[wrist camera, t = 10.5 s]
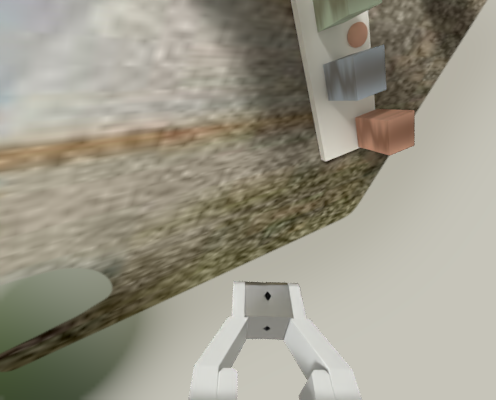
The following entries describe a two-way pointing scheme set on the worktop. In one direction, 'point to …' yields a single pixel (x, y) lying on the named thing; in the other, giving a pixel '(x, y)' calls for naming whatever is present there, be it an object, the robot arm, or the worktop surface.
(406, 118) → the pink tall block
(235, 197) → the worktop surface
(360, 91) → the grey tall block
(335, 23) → the sage green block
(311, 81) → the base
